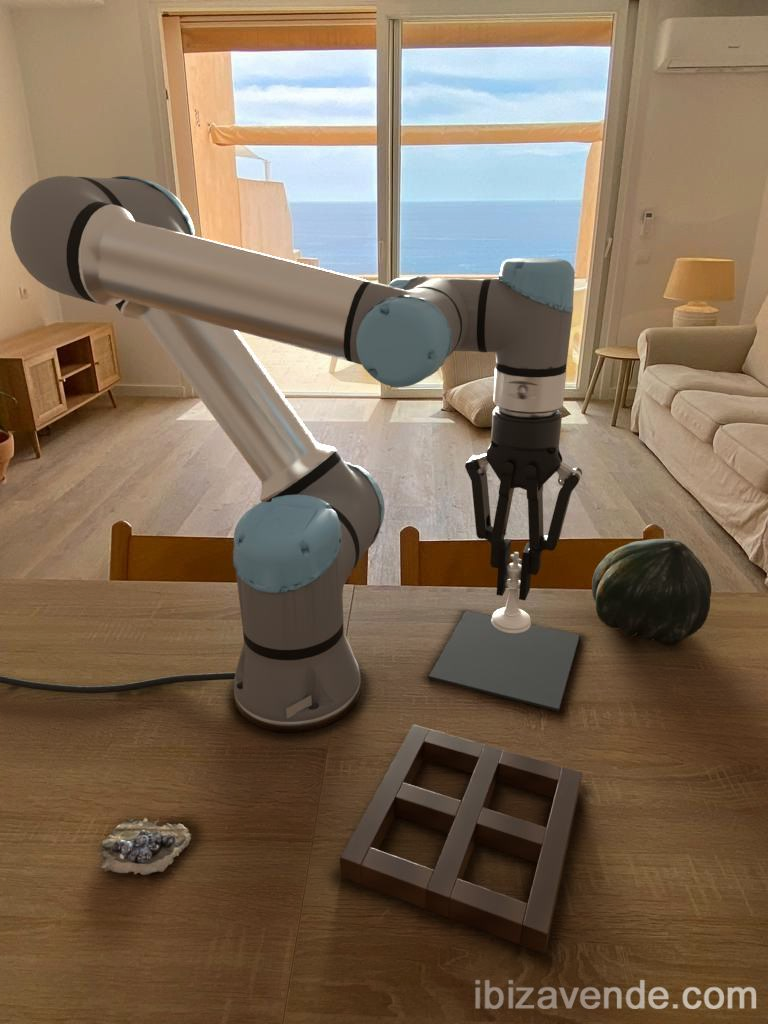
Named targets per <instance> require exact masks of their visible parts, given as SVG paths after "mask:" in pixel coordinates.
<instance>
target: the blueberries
mask: <svg viewBox="0 0 768 1024" xmlns="http://www.w3.org/2000/svg"><path fill="white" fill-rule="evenodd" d="M158 822H159V819H157V820H156V821H154V823H153V821H151V822H150V821H148V818H147V817H144V819H143V820H142V821H141V820H140V819H138V820H137V819H136V820H135V819H133V818H132V819H125V821H124V822H121V823H120V824H118V825H117V826H116V827H115V828H114V829H113V830H112V831H111V834H108V837H106V838H104V839H103V840H102V841H100V843H101V844H100V846H102V848H103V849H102V850H101V851H100V853H101V856H104V857H105V858H106V859H105V860H104V861H103V862H102V863H101V865H102V866H101V867H100V869H103V872H107V871H111V872H112V873H118V874H128V873H133V875H137V874H139V873H140V875H143V876H146V875H150V874H152V873H156V872H159V873H162V872H164V871H165V870H166V869H167V867H168V866H170V865H172V864H173V862H174V861H175V859H174V858H176V857H178V856H180V853H182V852H183V851H184V849H185V848H187V847H189V845H190V841H192V833H190V832H189V828H188V827H185V826H184V824H181V823H178V824H176V823H174V824H170V823H168V822H166V823H165V824H164V825H160V826H159V825H156V824H157V823H158Z"/></svg>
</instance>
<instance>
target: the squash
mask: <svg viewBox="0 0 768 1024" xmlns="http://www.w3.org/2000/svg"><path fill="white" fill-rule="evenodd" d="M591 590H592V591H591V594H592V597H593V600H594V602H595V604H594V605H595V613H596V615H597V617H598V618H599V619H600V621H601V622H603V623H604V624H605V625H606V626H607V627H609V628H612V629H619V631H620V632H621V633H622V634H623V635H624V636H626V637H634V636H636V635H637V636H638V638H639V639H641V640H644V641H654V642H656V643H658V644H661V645H663V646H675V645H677V644H679V643H682V641H683V640H684V639H686V638H689V637H691V636H692V635H694V634H695V633H697V632H698V631H699V630H700V629H701V628H702V627H703V626H704V624H705V623H706V622H707V618H708V616H709V612H710V608H711V596H712V582H711V579H710V575H709V573H708V571H707V569H706V567H705V566H704V565H703V563H702V562H701V560H700V559H699V558H698V556H696V555H695V553H694V552H693V551H692V549H690V547H688V546H687V545H686V544H684V542H682V541H680V540H678V539H674V538H652V539H645V540H638V541H632V542H629V543H628V544H625V545H623V546H620V547H617V548H616V549H613V550H612V551H610V552H609V553H608V554H607V555H606V556H605V557H604V558H603V559H602V560H601V561H600V563H599V564H598V565H597V567H596V568H595V569H594V573H593V576H592V581H591Z"/></svg>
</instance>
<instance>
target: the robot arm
mask: <svg viewBox="0 0 768 1024" xmlns="http://www.w3.org/2000/svg"><path fill="white" fill-rule="evenodd" d="M10 216H11V217H10V226H9V229H10V239H11V243H12V246H13V249H14V252H15V254H16V256H17V258H18V259H19V261H20V263H21V265H22V266H23V267H24V268H25V270H26V271H27V273H29V274H30V275H31V276H32V277H33V278H34V279H35V280H36V281H37V282H39V283H40V284H42V285H43V286H45V287H46V288H48V289H50V290H52V291H55V292H57V293H60V294H63V295H66V296H69V297H73V298H76V299H80V300H84V301H86V302H87V301H88V302H91V303H95V304H99V305H102V306H106V307H110V306H111V307H112V306H115V307H116V308H117V310H118V311H119V312H120V313H121V315H122V316H123V317H125V318H128V319H129V318H130V319H135V320H139V321H141V322H143V324H145V326H146V327H147V329H148V330H149V331H150V332H151V334H152V335H153V336H154V338H155V340H157V342H158V344H159V345H160V346H161V347H162V349H163V350H164V352H165V353H166V355H167V356H168V357H169V358H170V360H171V361H172V362H173V364H174V365H175V367H176V368H177V369H178V371H179V372H180V374H181V375H182V376H183V378H184V379H185V380H186V381H187V383H188V384H189V386H190V387H191V388H192V390H193V391H194V392H195V394H196V395H197V396H198V398H199V399H200V400H201V402H202V403H203V405H204V406H205V407H206V409H207V410H208V411H209V413H210V414H211V415H212V417H213V418H214V420H215V421H216V422H217V423H218V425H219V426H220V428H221V429H222V430H223V432H224V433H225V435H226V436H227V437H228V438H229V440H230V441H231V442H232V444H233V445H234V447H235V448H236V449H237V451H238V452H239V453H240V455H241V456H242V457H243V459H244V460H245V462H246V463H247V464H248V466H249V467H250V468H251V470H252V471H253V472H254V473H255V475H256V477H257V478H258V479H259V480H260V482H261V492H260V498H259V500H260V502H259V503H257V504H255V505H254V506H252V507H250V508H249V509H248V510H247V511H245V513H243V515H241V517H240V519H239V520H238V522H237V523H236V526H235V528H234V532H233V550H232V561H233V567H234V569H235V578H236V583H237V591H238V600H239V601H238V602H239V609H240V610H239V611H240V617H241V625H242V627H241V628H242V634H243V635H242V636H243V644H242V647H241V651H240V655H239V659H238V663H237V665H236V670H235V671H231V672H230V671H229V672H211V673H192V674H191V673H190V674H179V675H170V676H163V677H157V678H152V679H146V680H141V681H135V682H129V683H121V684H111V685H72V684H71V685H69V684H59V683H48V682H38V681H31V680H27V679H25V680H24V679H19V678H15V677H10V676H5V675H1V674H0V684H6V685H10V686H15V687H20V688H26V689H32V690H40V691H48V692H49V691H50V692H59V693H70V694H71V693H72V694H74V693H75V694H108V693H121V692H129V691H134V690H140V689H146V688H149V687H156V686H161V685H162V686H163V685H168V684H176V683H187V682H207V681H208V682H209V681H223V680H224V681H225V680H226V681H227V680H233V695H234V696H233V697H234V701H235V702H234V703H235V705H236V708H237V710H238V712H239V713H240V714H241V715H242V717H243V718H245V719H246V720H247V721H248V722H250V723H251V724H253V725H255V726H257V727H260V728H262V729H265V730H269V731H274V732H280V733H300V732H301V733H302V732H308V731H313V730H317V729H320V728H323V727H326V726H328V725H330V724H332V723H334V722H336V721H338V720H339V719H341V718H343V717H344V716H345V715H346V714H347V713H349V712H350V711H351V709H353V707H354V706H355V705H356V703H357V702H358V700H359V698H360V694H361V692H362V691H361V689H362V683H361V681H362V679H361V677H362V676H361V670H360V666H359V663H358V661H357V659H356V657H355V655H354V652H353V649H352V647H351V645H350V642H349V640H348V638H347V636H346V633H345V628H344V627H345V626H344V600H343V599H344V598H343V595H344V594H343V593H344V591H343V590H344V586H345V584H346V582H347V581H348V579H349V578H350V576H351V574H353V572H354V570H355V569H356V568H357V566H358V564H359V563H360V561H361V560H362V559H363V557H364V555H365V554H366V552H367V551H368V550H369V549H370V548H371V547H372V545H373V544H374V543H375V541H376V540H377V538H378V536H379V534H380V530H381V528H382V525H383V522H384V518H385V510H386V509H385V507H386V506H385V500H384V496H383V495H384V494H383V492H382V489H381V487H380V485H379V484H378V482H377V481H376V479H375V478H374V477H373V476H372V474H370V473H369V472H368V471H367V470H366V469H364V468H363V467H361V466H359V465H354V464H352V463H351V462H347V461H345V460H344V458H343V457H342V455H341V454H340V453H339V451H338V450H337V449H336V447H334V446H330V445H326V444H321V443H319V442H317V441H316V440H315V438H314V437H313V435H312V433H311V432H310V431H309V430H308V428H307V427H306V426H305V424H304V423H303V421H302V420H301V418H300V417H299V416H298V414H297V413H296V411H295V410H294V408H293V406H291V404H290V403H289V401H288V400H287V399H286V397H285V395H284V394H283V393H282V392H281V390H280V389H279V387H278V386H277V385H276V383H275V382H274V380H273V378H271V376H270V375H269V373H268V372H267V370H266V368H264V366H263V365H262V363H261V362H260V361H259V359H258V358H257V356H256V355H255V354H254V352H253V351H252V349H251V348H250V346H249V345H248V344H247V342H246V341H245V340H244V338H243V337H242V335H241V334H240V333H244V334H248V335H251V336H255V337H258V338H262V339H267V340H270V341H273V342H276V343H281V344H284V345H288V346H291V347H295V348H299V349H302V350H307V351H310V352H313V353H317V354H320V355H325V356H328V357H332V358H334V359H335V358H336V359H339V360H343V361H347V362H350V363H354V364H357V365H360V366H362V368H363V369H364V370H365V371H366V373H368V374H369V375H370V376H371V377H372V378H373V379H375V380H376V381H377V382H378V383H380V384H383V385H385V386H389V387H394V388H406V387H410V386H413V385H414V386H415V385H416V384H418V383H420V382H422V381H423V380H425V379H427V378H428V377H431V376H432V375H434V374H436V372H438V371H440V368H441V367H442V366H443V365H444V364H445V361H446V359H447V358H448V357H450V356H451V355H452V354H453V353H454V352H473V353H475V352H476V353H494V354H495V366H494V382H493V404H494V405H495V406H496V407H495V408H494V409H493V410H492V414H491V415H492V417H491V435H490V436H491V437H490V444H489V446H488V448H487V450H486V452H485V453H482V454H480V455H477V454H473V455H472V456H471V457H470V458H469V459H468V461H466V462H465V465H464V467H465V470H466V473H467V474H468V477H469V479H470V481H471V491H472V500H473V501H472V502H473V512H474V524H475V534H476V537H477V538H478V539H479V540H480V539H481V540H486V541H488V542H489V543H490V545H491V546H490V563H489V564H490V567H491V568H493V569H494V568H495V569H497V578H496V581H497V582H496V595H495V596H499V597H503V596H504V594H505V592H506V590H507V588H508V587H507V586H506V585H505V583H506V581H507V580H508V579H509V573H508V571H507V565H508V564H510V561H511V560H510V559H511V558H510V555H511V545H512V539H510V538H505V536H506V535H507V528H508V523H509V518H510V512H511V507H512V501H513V496H514V491H515V489H519V488H520V489H523V490H525V491H526V499H527V515H528V516H527V517H528V520H527V521H528V542H527V543H526V545H525V547H524V549H523V551H522V558H521V559H522V563H521V565H522V568H521V576H520V579H519V580H520V589H519V593H518V600H520V601H526V599H527V598H528V595H529V593H530V590H531V580H532V575H533V576H537V575H538V574H539V571H540V569H541V567H542V555H543V551H547V550H548V551H550V552H552V551H554V550H556V548H557V546H558V543H559V541H560V537H561V534H562V531H563V526H564V523H565V519H566V514H567V511H568V507H569V504H570V500H571V496H572V493H573V491H574V490H575V488H576V487H577V485H578V484H579V482H580V480H581V477H582V475H583V471H582V469H581V468H579V467H574V468H573V467H571V466H570V465H568V464H567V463H565V462H564V461H563V456H562V454H561V451H560V439H561V429H562V419H563V414H562V412H561V411H560V409H561V408H562V407H563V406H564V400H565V389H566V380H567V364H568V357H569V356H568V355H569V348H570V340H571V339H570V338H571V331H572V330H571V329H572V323H573V322H572V321H573V313H574V293H575V275H576V273H575V268H574V266H573V265H572V264H571V263H570V262H569V261H568V260H565V259H562V258H554V257H516V258H515V257H514V258H509V259H506V260H504V261H503V262H502V263H501V266H500V272H499V274H498V277H493V278H485V279H483V278H480V279H479V278H453V277H452V278H450V277H427V276H426V275H419V276H413V277H398V278H395V279H393V280H392V281H390V283H389V284H388V285H387V284H383V283H378V282H373V281H369V280H366V279H363V278H360V277H356V276H352V275H348V274H344V273H340V272H335V271H333V270H329V269H328V270H327V269H324V268H320V267H317V266H313V265H308V264H304V263H300V262H296V261H293V260H289V259H285V258H281V257H277V256H272V255H269V254H265V253H262V252H257V251H254V250H249V249H245V248H241V247H238V246H234V245H229V244H225V243H221V242H218V241H215V240H214V241H213V240H210V239H206V238H202V237H198V236H195V233H196V231H195V227H194V224H193V221H192V219H191V217H190V214H189V212H188V210H187V209H186V207H185V206H184V204H183V203H182V202H181V201H180V199H179V198H178V197H177V196H176V195H175V194H174V193H172V192H171V191H170V190H168V189H167V187H164V186H163V185H161V184H160V183H156V182H155V181H151V180H147V179H142V178H139V177H135V176H130V175H117V176H112V177H93V176H73V175H72V176H71V175H57V176H56V175H55V176H51V177H46V178H44V179H42V180H38V181H37V182H35V183H33V184H32V185H30V186H29V187H27V189H25V190H24V191H23V192H22V193H21V194H20V196H19V197H18V199H17V201H16V203H15V205H14V207H13V209H12V213H11V215H10ZM489 466H490V467H491V469H492V470H493V472H494V474H495V475H496V476H497V478H498V480H499V481H500V483H499V489H498V498H497V502H496V509H495V514H494V521H493V526H492V517H491V507H490V496H489V495H490V494H489V483H488V473H487V472H488V471H489ZM555 473H557V474H558V479H557V483H558V484H559V485H560V486H561V487H560V489H559V491H558V494H557V497H556V501H555V505H554V509H553V513H552V517H551V521H550V525H549V529H548V533H547V535H544V534H545V533H544V498H543V497H544V495H543V493H544V485H545V484H546V483H547V482H548V480H549V479H550V478H552V476H554V474H555Z"/></svg>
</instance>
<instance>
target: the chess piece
mask: <svg viewBox="0 0 768 1024" xmlns="http://www.w3.org/2000/svg"><path fill="white" fill-rule="evenodd" d="M510 559H511V560H512V562H511V563H510V562H509V564H508V565H507V571H508V573H509V574H508V580H507V581H506V583H505V585H506V586H507V588H508V589H509V590H508V594H507V595H508V596H507V600H506V604H505V607H501V608H498V609H496V610H495V611H494V612H493V613H492V615H491V616H492V619H491V622H492V624H493V626H494V627H495V628H497V629H498V630H500V631H503V632H507V633H521V632H524V631H526V630H528V629H529V628H530V626H531V625H532V622H531V621H532V620H531V617H530V615H529V614H528V613H527V612H526V611H525V610H523V609H521V608H520V607H519V593H518V592H519V590H520V580H521V568H522V558H520V552H519V551H513V553H510Z"/></svg>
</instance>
